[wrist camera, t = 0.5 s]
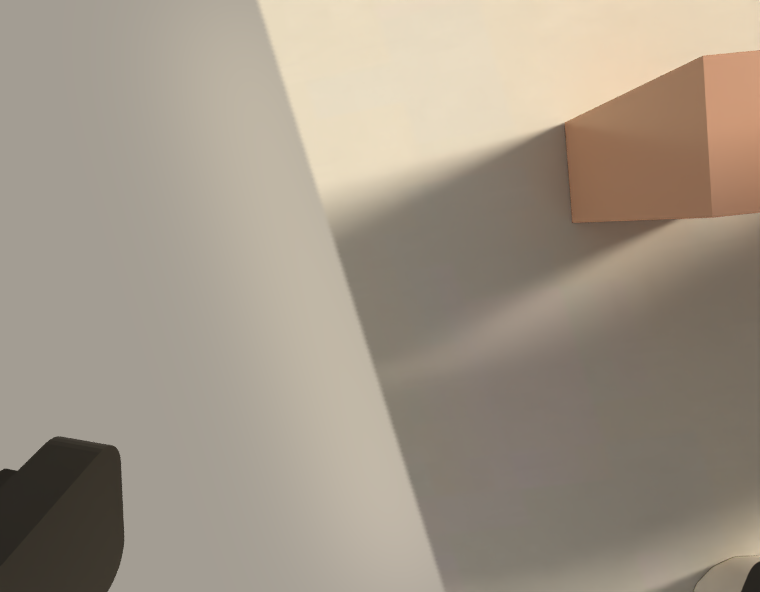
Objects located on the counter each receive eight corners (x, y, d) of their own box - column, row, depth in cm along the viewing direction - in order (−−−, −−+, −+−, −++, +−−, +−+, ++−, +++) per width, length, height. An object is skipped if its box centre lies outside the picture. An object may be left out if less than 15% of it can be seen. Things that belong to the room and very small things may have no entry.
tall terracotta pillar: (564, 122, 31) (702, 55, 19) (694, 109, 32) (909, 35, 20) (572, 222, 32) (712, 217, 20) (700, 209, 32) (913, 195, 20)
